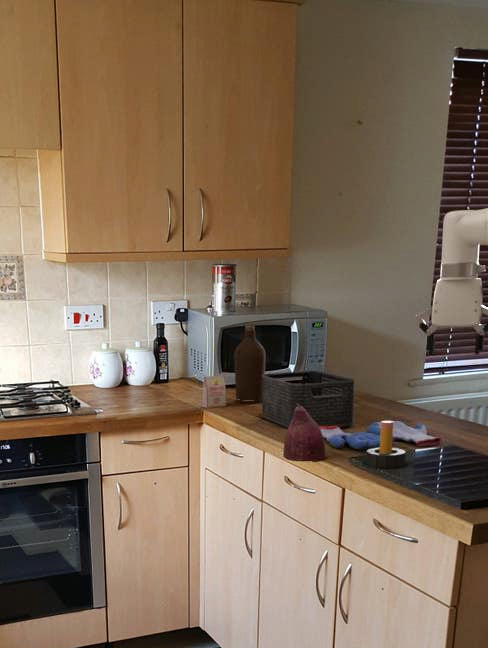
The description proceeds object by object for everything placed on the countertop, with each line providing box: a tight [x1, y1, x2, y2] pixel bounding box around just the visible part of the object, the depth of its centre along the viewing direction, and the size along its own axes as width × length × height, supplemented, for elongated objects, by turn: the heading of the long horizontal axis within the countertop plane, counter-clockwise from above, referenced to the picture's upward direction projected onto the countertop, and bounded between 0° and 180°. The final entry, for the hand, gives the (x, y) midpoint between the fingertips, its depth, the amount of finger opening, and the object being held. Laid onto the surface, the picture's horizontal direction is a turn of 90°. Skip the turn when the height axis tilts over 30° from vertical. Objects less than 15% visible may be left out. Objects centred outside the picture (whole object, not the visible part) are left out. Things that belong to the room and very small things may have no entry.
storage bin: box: [261, 370, 355, 429], centre depth 258 cm, size 29×19×13 cm
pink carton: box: [202, 375, 227, 409], centre depth 290 cm, size 4×7×10 cm, turn 108°
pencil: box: [379, 420, 394, 454], centre depth 206 cm, size 3×3×10 cm
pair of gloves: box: [319, 419, 442, 451], centre depth 232 cm, size 32×26×4 cm
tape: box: [365, 447, 407, 469], centre depth 207 cm, size 9×9×3 cm
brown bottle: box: [233, 325, 267, 404], centre depth 295 cm, size 11×11×25 cm
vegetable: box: [283, 404, 327, 463], centre depth 213 cm, size 10×10×15 cm
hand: (454, 353), depth 193 cm, fingers open, 9 cm apart
